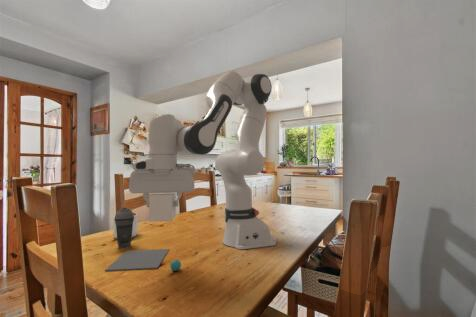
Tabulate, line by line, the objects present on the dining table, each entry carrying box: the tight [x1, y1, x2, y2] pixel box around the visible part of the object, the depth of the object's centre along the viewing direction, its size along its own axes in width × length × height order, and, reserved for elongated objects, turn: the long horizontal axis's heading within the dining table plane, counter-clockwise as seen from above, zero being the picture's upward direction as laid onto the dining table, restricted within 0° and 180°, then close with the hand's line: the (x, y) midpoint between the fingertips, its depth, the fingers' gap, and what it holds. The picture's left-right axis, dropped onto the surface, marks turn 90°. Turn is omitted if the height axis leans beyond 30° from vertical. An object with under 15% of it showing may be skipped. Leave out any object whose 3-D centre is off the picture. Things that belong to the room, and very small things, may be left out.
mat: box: [104, 248, 170, 272], centre depth 79 cm, size 16×16×1 cm
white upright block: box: [148, 192, 176, 223], centre depth 74 cm, size 7×7×8 cm
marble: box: [170, 259, 182, 272], centre depth 71 cm, size 3×3×3 cm
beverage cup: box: [113, 197, 134, 250], centre depth 93 cm, size 7×7×20 cm
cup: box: [113, 212, 139, 240], centre depth 106 cm, size 10×10×10 cm
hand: (162, 206), depth 74 cm, fingers closed on white upright block, 7 cm apart
